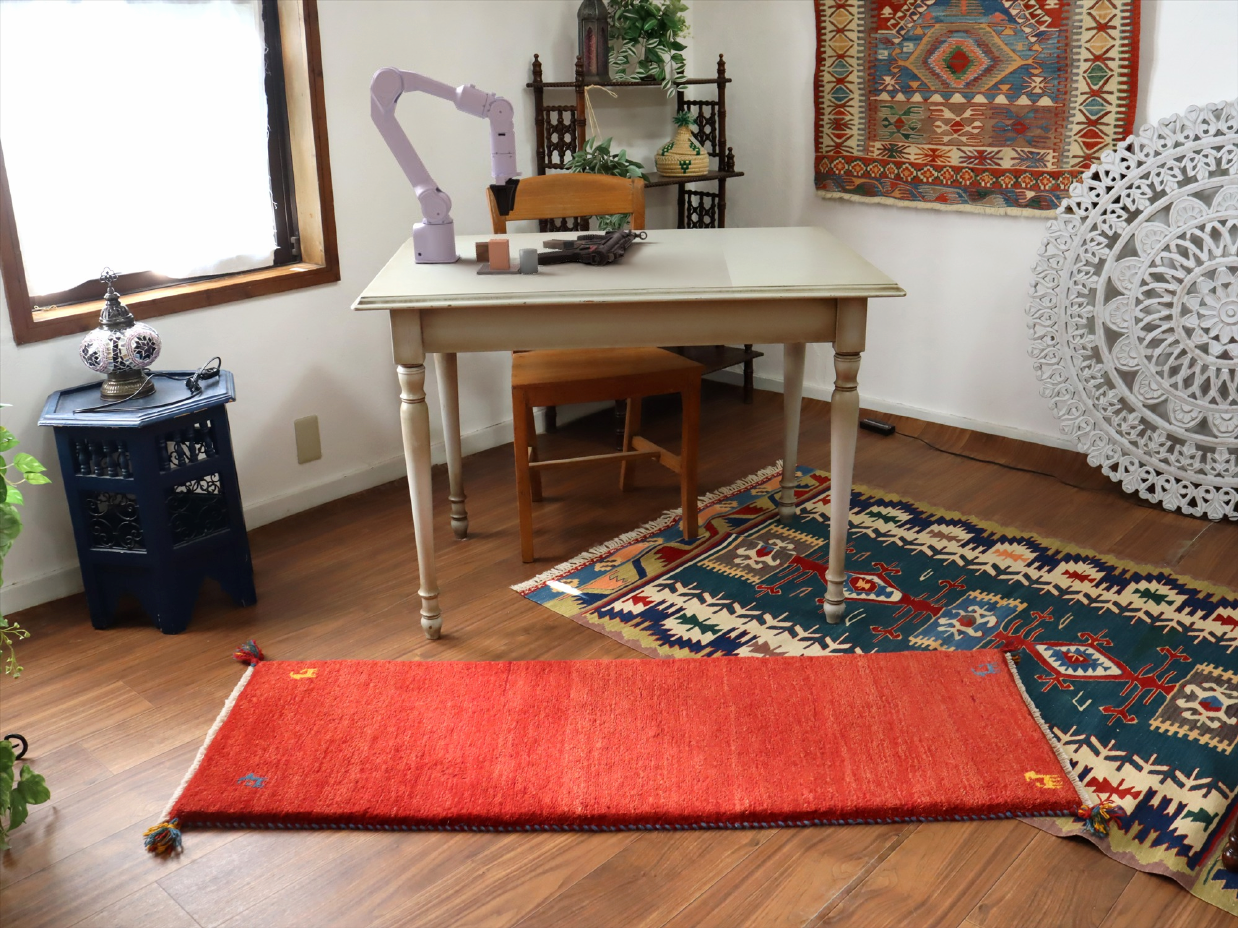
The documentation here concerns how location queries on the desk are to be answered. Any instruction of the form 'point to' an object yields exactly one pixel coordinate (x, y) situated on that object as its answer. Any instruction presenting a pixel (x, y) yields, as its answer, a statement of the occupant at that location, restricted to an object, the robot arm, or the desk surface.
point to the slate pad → (486, 269)
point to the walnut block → (482, 251)
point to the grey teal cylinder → (528, 261)
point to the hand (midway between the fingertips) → (506, 213)
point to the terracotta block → (499, 253)
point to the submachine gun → (589, 248)
